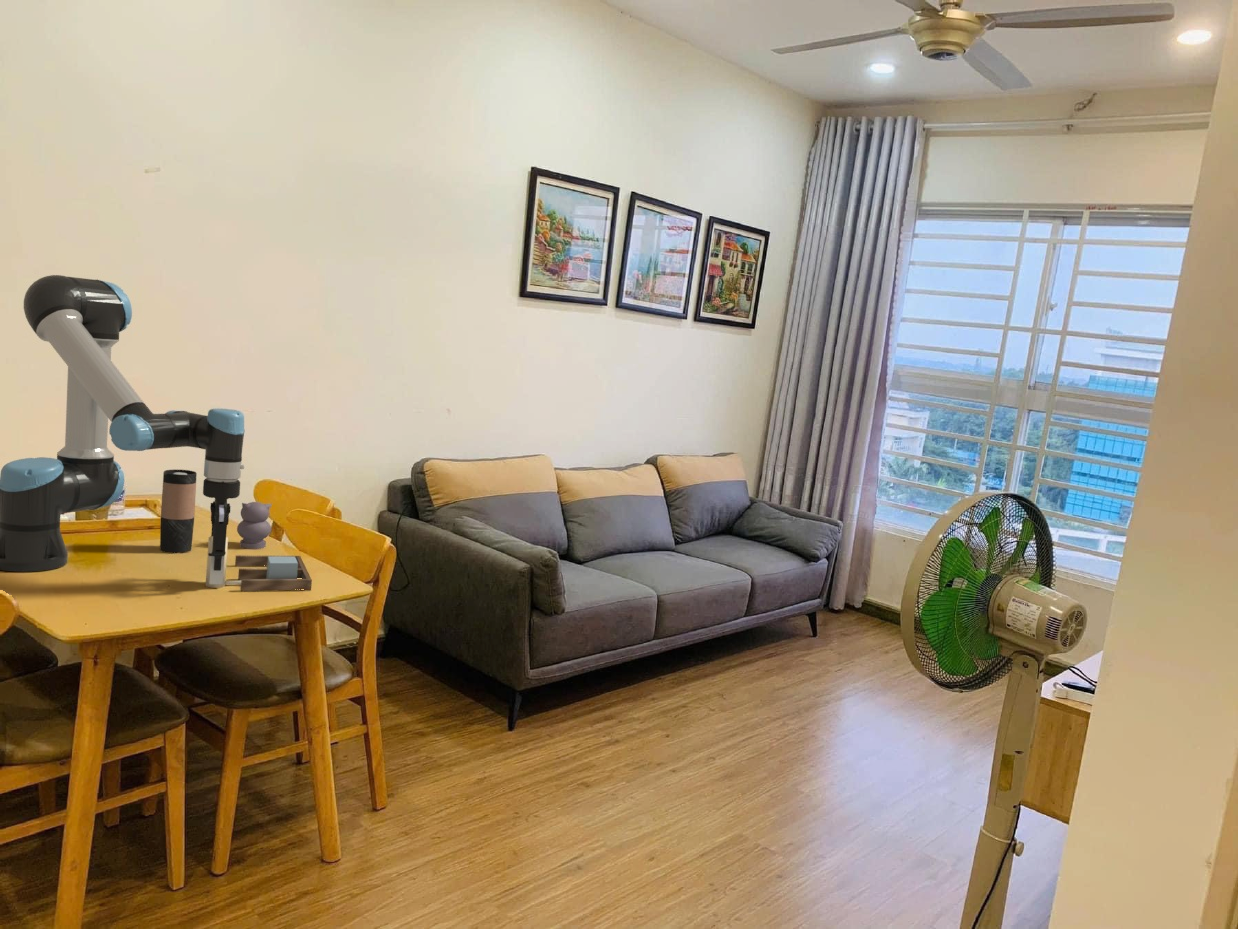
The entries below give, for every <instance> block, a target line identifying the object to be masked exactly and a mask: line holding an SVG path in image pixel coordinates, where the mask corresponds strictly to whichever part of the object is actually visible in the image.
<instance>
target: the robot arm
mask: <svg viewBox="0 0 1238 929" xmlns="http://www.w3.org/2000/svg"><path fill="white" fill-rule="evenodd" d="M23 312H24V315H25V319H26V321H27V323H28V325H29V326H30V328H31V329H32V331H33V332H34V333H35V335H36V337H38V338H39V339H40V340H42V341H44V342H48V343H49V344H50V345H51V347H52V348H53V350H55V351H56V353H57V354H58V355H59V357H60V358H61V359H62V360H63V362H64V363H65V364H66V366H67V384H66V386H67V387H66V388H67V389H66V409H65V410H66V411H65V437H64V439H65V440H64V446H63V447H62V448H61V449H59V451H58V452H57V454H56V458H53V457H45V456H43V457H35V458H34V457H26V458H20V459H16V460H12V461H9V462H7V463H5V464H4V466H3V467H1V470H0V571H4V572H5V571H6V572H16V573H17V572H18V573H20V572H23V573H24V572H26V573H27V572H29V573H30V572H41V571H44V572H45V571H50V570H54V569H58V568H61V567H64V566H66V565H67V564H68V559H69V557H68V555H69V554H68V549H67V548H66V547H67V546H66V544H65V541H64V538H63V535H62V533H61V515H62V514H68V513H74V512H75V513H76V512H81V511H95V510H98V509H101V508H105V507H108V506H111V505H112V504H114V502H116V501H117V500H118V499H119V498H120V497H121V495H122V492H123V491H124V487H125V474H124V471H123V470H121V469H122V467H121V465H120V464H119V463H118V462H117V461H115V460H114V459H115V454H114V453H113V452H112V451H111V450H110V449H109V448H108V433H109V435H110V437H111V438H110V439H111V443H112V444H113V445H114V447H116V448H118V449H119V450H122V451H126V452H127V451H128V452H131V451H132V452H134V451H135V452H136V451H137V452H144V451H146V450H156V449H157V450H158V449H171V448H183V447H189V448H195V449H201V450H205V451H204V452H205V454H204V455H205V456H204V466H203V476H204V480H203V485H202V495H203V496H205V497H207V498H211V499H214V501H212V502H210V506H209V508H210V521H211V531H210V532H211V536H213V548H212V553H208V552H207V556H211V565H210V580H209V584H223V571H224V555H225V554H226V552H225V545H226V537H227V532H228V530H227V529H228V525H229V521H230V520H229V519H230V517H229V516H230V514H231V504H230V503H228V500H229V499H236V498H239V496H240V493H241V492H240V490H241V481H240V480H239V479H240V478H241V474H242V471H241V470H244V469H245V465H244V464H242V461H243V458H242V457H243V446H244V436H245V430H246V429H245V415H244V413H243V412H242V411H240V410H237V409H228V408H211V409H209V410H208V412H207V415H204V414H199V413H195V412H189V411H188V410H187V411H186V410H168V411H167V412H165V413H153V411H152V410H151V409H150V408H149V407H148V405H146V403H145V402H144V401H143V399H141V397H140V396H139V395H138V393H137V392H136V391H135V389H134V388H133V387H132V386H131V384H130V383H129V382H128V380H127V379H126V378H125V377H124V375H123V374H122V373H121V372H120V370H119V368H117V366H116V365H115V364H114V363H113V361H112V359H111V358H112V348H113V346H115V345H116V344H117V343H118V342H119V341H120V332H122V331H125V330H126V329H127V328H128V325H130V324H131V321H132V316H133V308H132V304H131V301H130V299H129V296H128V295H127V294H126V293H125V292H124V290H123V289H122V288H121V287H120V286H118V285H117V284H114V283H112V282H109V281H105V280H101V279H90V278H82V277H72V276H66V275H61V274H52V275H51V274H50V275H45V276H43V277H40V278H38V279H37V280H35V281H33V283H32V284H31V285H29V287H28V289H27V290H26V292H25V294H24V298H23ZM109 421H110V425H109ZM108 427H109V428H108ZM108 429H109V430H108ZM108 431H109V432H108Z"/></svg>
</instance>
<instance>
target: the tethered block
mask: <svg viewBox="0 0 1238 929" xmlns="http://www.w3.org/2000/svg"><path fill="white" fill-rule="evenodd" d="M228 544H229V537H228V536H226V545H225V552H226V554H225V555H224V571H223V584H209V580H210V565H211V556H208V555H207V558H206V559H207V561H206V570H205V571H206V573H205V574H206V575H205V586H206V587H208V588H212V589H213V588H214V589H215V588H217V589H220V588H223V587H226V585H241V580H226V576H227V563H228V562H227V560H228V558H227V557H228V546H229V545H228ZM212 548H213V536H209V537H208V543H207V554H208V553H212ZM267 556H268V562H267V566H266V569H267V575H266V579H297V570H298V562H297V560H296V558H295V557H279V556H280V555H267Z"/></svg>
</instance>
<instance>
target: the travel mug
mask: <svg viewBox="0 0 1238 929" xmlns="http://www.w3.org/2000/svg"><path fill="white" fill-rule="evenodd" d="M196 488H197V472H196V471H193V470H189V469H167V470H164V471H163V477H162V490H161V491H162V492H161V504H160V505H161V507H160V508H161V509H160V511H161V512H160V526H159V527H160V528H159V529H160V532H159V533H160V536H159V537H160V538H159V539H160V541H159V547H160V548H159V550H160V551H161V552H162V553H163V552H164V553H167V554H184V553H189V552H191V551H192V548H193V536H194V535H193V534H194V526H195V525H194V524H195V514H196V513H195V512H196V494H197V492H196V491H197V489H196Z"/></svg>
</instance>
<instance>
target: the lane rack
mask: <svg viewBox="0 0 1238 929" xmlns="http://www.w3.org/2000/svg"><path fill="white" fill-rule="evenodd" d="M268 556H269V555H243V554H241V555H239V554H238V555H235V562H234V566H235V567H267V566H266V565H267V562H268ZM278 556H279V557H295V558H296V560H297V562H298V570H297V578H302V579H266V575H267V568H238V576H237V579H238V580H237V581H241V584H240V592H263V591H262V590H295V589H296V590H297V589H298V590H299V589H300V590H301V589H304V590H311V591H312V584H313V582H312V581H313V579H312V578H311V577H312V576H311V575H310V573H309V571H308V569H307V567H306V565H305V563H304V561H303V558H302V557H301V555H278ZM264 565H265V566H264ZM259 590H260V591H259Z"/></svg>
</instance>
